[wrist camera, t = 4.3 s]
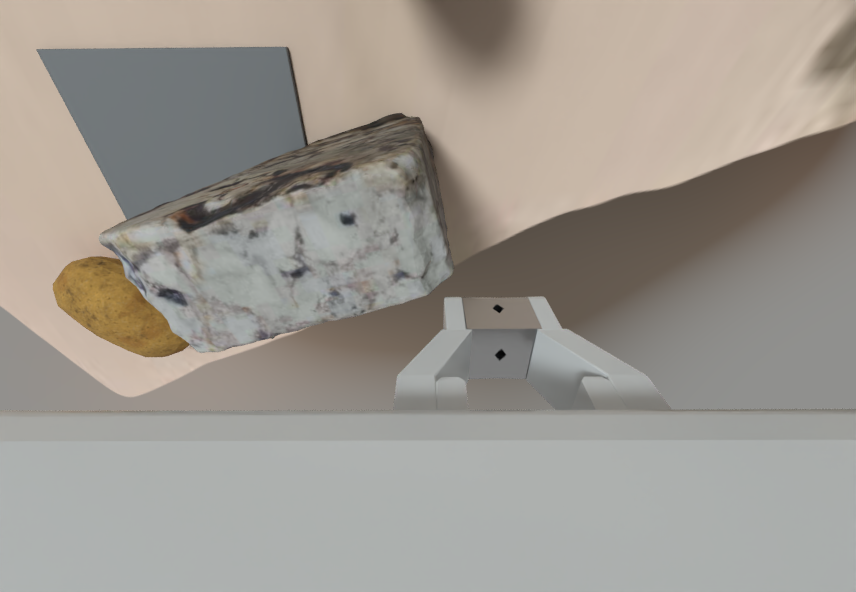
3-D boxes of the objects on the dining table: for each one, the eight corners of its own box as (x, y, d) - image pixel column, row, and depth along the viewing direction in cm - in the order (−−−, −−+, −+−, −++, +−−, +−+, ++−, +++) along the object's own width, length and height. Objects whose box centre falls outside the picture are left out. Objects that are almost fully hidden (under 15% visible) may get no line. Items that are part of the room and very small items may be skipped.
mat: (287, 47, 25) (285, 46, 25) (325, 242, 34) (324, 244, 33) (41, 49, 25) (36, 49, 25) (142, 242, 34) (140, 244, 34)
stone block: (314, 221, 32) (201, 376, 15) (271, 149, 28) (62, 250, 12) (442, 170, 30) (472, 288, 13) (413, 84, 26) (402, 96, 9)
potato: (118, 224, 33) (52, 255, 27) (228, 307, 39) (192, 347, 33) (79, 272, 36) (12, 309, 31) (185, 342, 42) (146, 385, 36)
